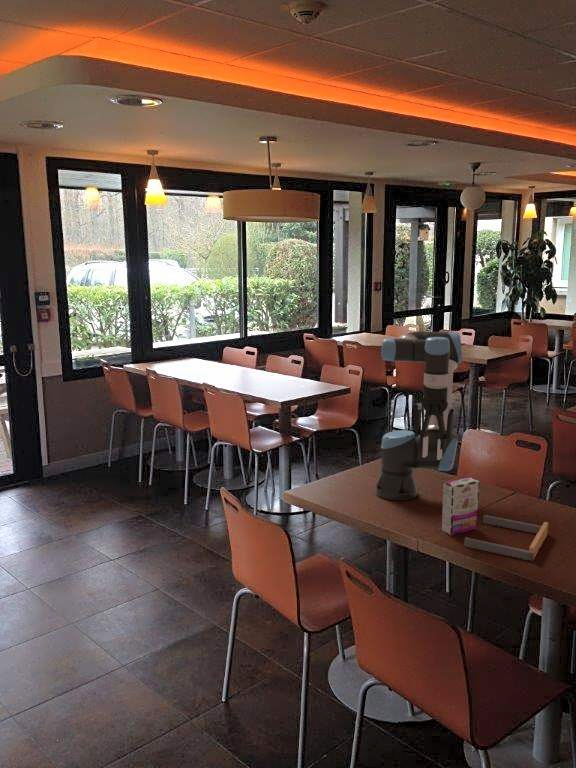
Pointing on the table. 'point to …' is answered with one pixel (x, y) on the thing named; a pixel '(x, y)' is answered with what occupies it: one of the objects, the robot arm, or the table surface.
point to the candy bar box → (460, 506)
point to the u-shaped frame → (507, 550)
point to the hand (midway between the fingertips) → (432, 457)
